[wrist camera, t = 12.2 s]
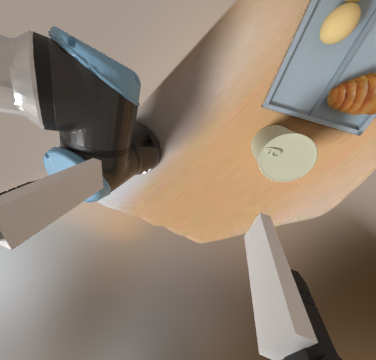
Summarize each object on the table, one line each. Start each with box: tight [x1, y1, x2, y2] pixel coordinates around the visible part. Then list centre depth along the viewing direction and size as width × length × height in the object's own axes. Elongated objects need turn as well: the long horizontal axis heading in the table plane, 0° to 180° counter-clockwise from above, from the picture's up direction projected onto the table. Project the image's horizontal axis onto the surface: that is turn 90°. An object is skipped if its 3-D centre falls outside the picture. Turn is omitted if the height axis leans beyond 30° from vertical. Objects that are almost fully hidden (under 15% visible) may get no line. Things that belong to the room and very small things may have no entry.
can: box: [251, 125, 318, 182], centre depth 31 cm, size 9×9×12 cm
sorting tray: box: [262, 0, 376, 136], centre depth 26 cm, size 20×22×2 cm
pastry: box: [327, 72, 376, 116], centre depth 26 cm, size 9×7×4 cm
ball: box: [320, 2, 361, 44], centre depth 24 cm, size 5×5×5 cm
